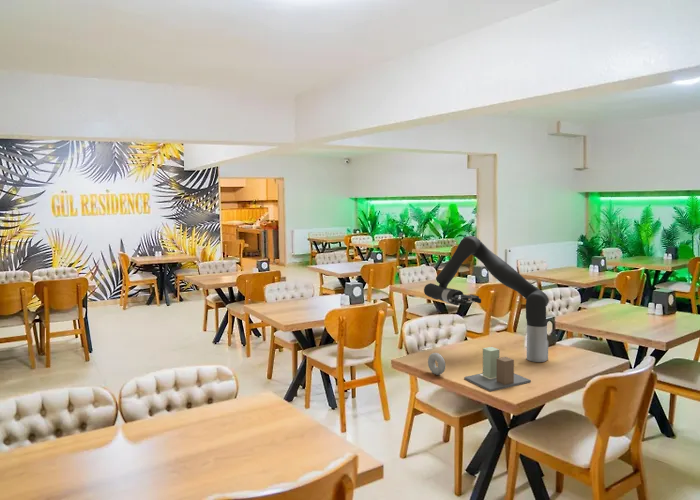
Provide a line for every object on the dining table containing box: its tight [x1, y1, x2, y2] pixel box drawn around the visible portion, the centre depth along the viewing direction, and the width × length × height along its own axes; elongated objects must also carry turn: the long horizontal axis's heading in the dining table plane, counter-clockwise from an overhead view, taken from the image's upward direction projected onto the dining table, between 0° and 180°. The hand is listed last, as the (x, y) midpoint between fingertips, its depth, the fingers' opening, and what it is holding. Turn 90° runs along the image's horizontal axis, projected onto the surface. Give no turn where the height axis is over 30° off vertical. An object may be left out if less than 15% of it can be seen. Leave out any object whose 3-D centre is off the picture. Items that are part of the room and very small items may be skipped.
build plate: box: [463, 356, 532, 392], centre depth 231 cm, size 22×17×11 cm
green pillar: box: [482, 346, 500, 378], centre depth 234 cm, size 5×5×12 cm
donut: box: [427, 352, 446, 376], centre depth 241 cm, size 10×4×10 cm, turn 34°
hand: (473, 302), depth 252 cm, fingers open, 8 cm apart
